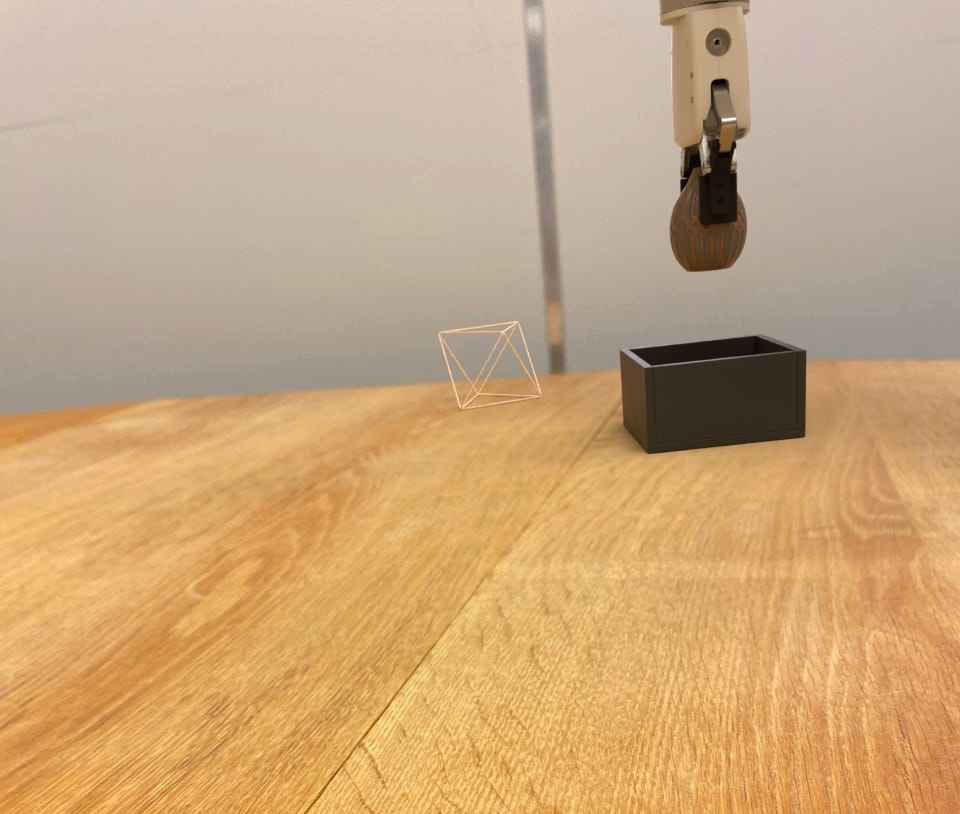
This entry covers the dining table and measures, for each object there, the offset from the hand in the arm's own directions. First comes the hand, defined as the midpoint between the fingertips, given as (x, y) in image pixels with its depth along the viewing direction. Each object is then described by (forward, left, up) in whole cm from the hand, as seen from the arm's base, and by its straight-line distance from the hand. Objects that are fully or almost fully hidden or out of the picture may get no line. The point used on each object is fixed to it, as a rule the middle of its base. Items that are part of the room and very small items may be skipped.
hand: (708, 221), depth 97 cm
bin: (0, -1, -19) cm, 19 cm away
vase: (0, 0, -4) cm, 4 cm away
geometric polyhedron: (+20, -33, -20) cm, 43 cm away
